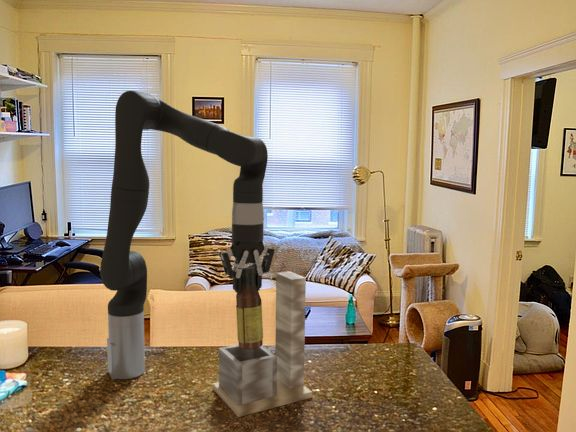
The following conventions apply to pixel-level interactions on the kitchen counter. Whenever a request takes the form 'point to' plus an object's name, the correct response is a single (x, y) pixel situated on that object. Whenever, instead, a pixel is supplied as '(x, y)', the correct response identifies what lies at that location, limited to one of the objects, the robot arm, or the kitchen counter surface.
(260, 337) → the sauce bottle
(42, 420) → the kitchen counter surface
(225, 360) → the grey holder stand
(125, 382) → the kitchen counter surface
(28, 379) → the kitchen counter surface
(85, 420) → the kitchen counter surface
